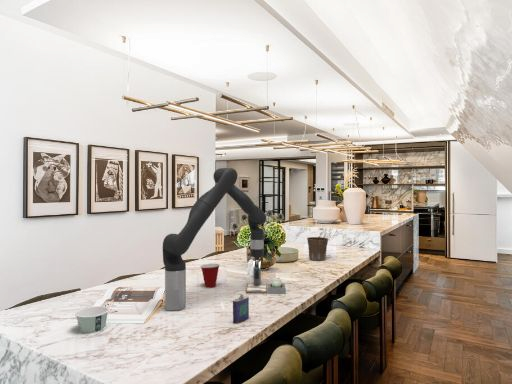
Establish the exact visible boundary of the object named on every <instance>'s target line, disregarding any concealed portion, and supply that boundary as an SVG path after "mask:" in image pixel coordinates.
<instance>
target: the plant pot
mask: <svg viewBox="0 0 512 384" xmlns="http://www.w3.org/2000/svg"><path fill="white" fill-rule="evenodd" d="M306 240H307V245H308V259H309V260H311V261H315V262H316V261H320V262H321V261H322V262H323V261H325V260H326V256H327V247H328V246H327V245H328V242H329V238H327V237H321V236H315V237H314V236H309V237H307V238H306Z"/></svg>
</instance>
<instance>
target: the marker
mask: <svg viewBox="0 0 512 384" xmlns="http://www.w3.org/2000/svg"><path fill="white" fill-rule="evenodd" d="M252 268H253V272H252V273H253V274H252V275H253V278H252V279H253V281H252V284H253V285H254V286H260V285H261V284H262V283H261V281H262V280H261V279H262V278H261V277H262V275H261V273H262V272H261V271H262V265H261V264H260V268H259V279H255V272H254V264H253V267H252ZM256 269H258V268H256Z"/></svg>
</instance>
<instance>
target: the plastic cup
mask: <svg viewBox="0 0 512 384" xmlns="http://www.w3.org/2000/svg"><path fill="white" fill-rule="evenodd" d="M220 265H221V264H220V263H205V264H201V265H200V266H199V267H200V268H201V272H202V277H203V282H204V287H206V288H208V289H211V288H212V289H213V288H215V287H216V285H217V281H218V280H217V279H218V273H219V269H220V268H219V267H220Z"/></svg>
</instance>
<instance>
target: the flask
mask: <svg viewBox="0 0 512 384" xmlns="http://www.w3.org/2000/svg"><path fill="white" fill-rule="evenodd" d="M249 299H250V297H249V296H248V295H245V294H242V293H240V294H239V297H238V298H235V299H233V300H232V324H233V325H235V324H236V325H237V324H241V323H242V322H244V321H247V320H248V319H249V318H250V312H249V311H250V306H249V305H250V303H249V302H250V301H249Z"/></svg>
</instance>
